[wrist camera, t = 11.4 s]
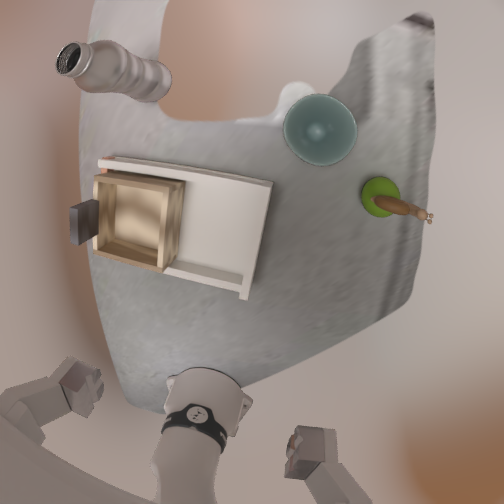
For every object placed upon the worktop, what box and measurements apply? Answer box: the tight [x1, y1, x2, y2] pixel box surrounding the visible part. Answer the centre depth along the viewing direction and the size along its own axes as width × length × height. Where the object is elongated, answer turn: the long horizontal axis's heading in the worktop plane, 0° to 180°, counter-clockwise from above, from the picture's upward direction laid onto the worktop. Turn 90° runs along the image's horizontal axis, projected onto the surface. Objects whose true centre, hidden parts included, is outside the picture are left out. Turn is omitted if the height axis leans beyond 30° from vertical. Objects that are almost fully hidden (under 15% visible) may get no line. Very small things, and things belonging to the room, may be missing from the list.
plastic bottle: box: [55, 40, 172, 102], centre depth 27 cm, size 6×7×20 cm
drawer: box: [70, 170, 186, 273], centre depth 38 cm, size 12×12×11 cm
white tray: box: [98, 156, 274, 301], centre depth 41 cm, size 16×26×6 cm, turn 79°
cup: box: [283, 94, 358, 166], centre depth 32 cm, size 8×8×10 cm
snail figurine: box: [361, 177, 433, 224], centre depth 33 cm, size 5×6×12 cm
